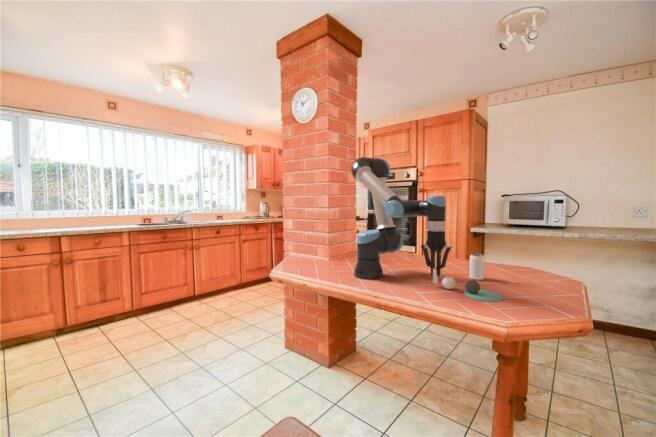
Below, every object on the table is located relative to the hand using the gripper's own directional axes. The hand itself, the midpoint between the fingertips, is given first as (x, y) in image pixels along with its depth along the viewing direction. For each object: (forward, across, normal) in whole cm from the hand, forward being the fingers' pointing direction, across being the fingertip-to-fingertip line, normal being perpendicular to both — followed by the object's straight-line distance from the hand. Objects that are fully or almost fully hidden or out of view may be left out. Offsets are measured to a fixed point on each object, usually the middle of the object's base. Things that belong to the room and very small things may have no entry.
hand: (435, 282), depth 122 cm
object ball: (-1, +15, 0) cm, 15 cm away
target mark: (+2, +19, 0) cm, 19 cm away
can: (+2, +12, +25) cm, 28 cm away
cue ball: (-1, +6, 0) cm, 6 cm away
